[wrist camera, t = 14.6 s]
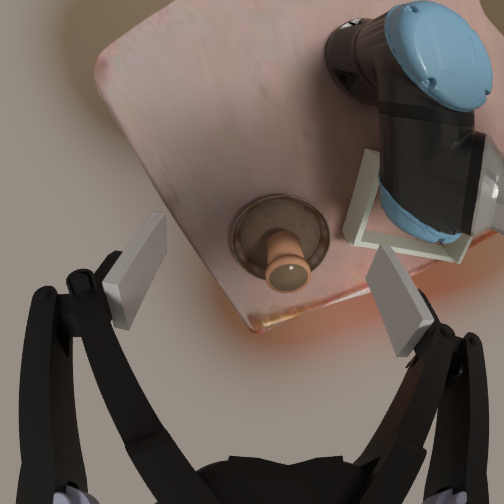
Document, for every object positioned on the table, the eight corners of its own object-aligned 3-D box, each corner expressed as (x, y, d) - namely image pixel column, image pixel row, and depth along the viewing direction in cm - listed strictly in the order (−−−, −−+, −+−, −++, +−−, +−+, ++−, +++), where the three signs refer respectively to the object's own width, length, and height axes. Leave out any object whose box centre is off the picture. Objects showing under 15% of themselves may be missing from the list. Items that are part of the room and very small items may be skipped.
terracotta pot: (279, 221, 45) (284, 254, 39) (311, 239, 48) (320, 272, 42) (255, 249, 49) (257, 283, 43) (287, 264, 52) (292, 298, 46)
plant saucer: (313, 176, 45) (317, 182, 42) (336, 258, 54) (339, 267, 51) (217, 208, 49) (214, 215, 46) (252, 282, 58) (252, 292, 55)
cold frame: (364, 147, 41) (385, 161, 34) (469, 184, 42) (495, 202, 35) (341, 230, 50) (354, 257, 42) (443, 249, 51) (462, 273, 43)
